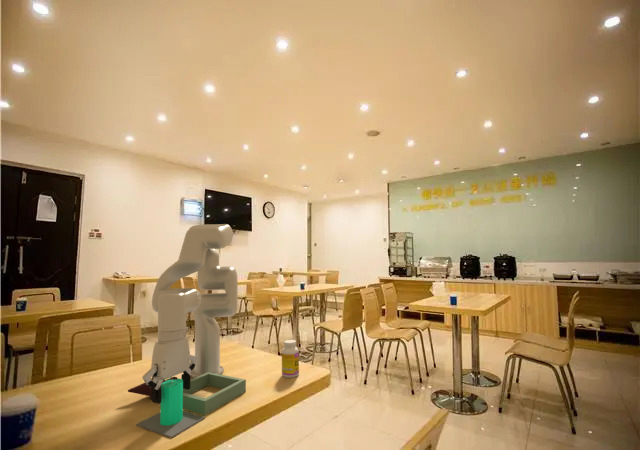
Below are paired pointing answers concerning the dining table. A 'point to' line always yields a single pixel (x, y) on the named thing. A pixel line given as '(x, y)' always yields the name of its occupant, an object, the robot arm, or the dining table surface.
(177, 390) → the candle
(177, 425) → the rubber mat
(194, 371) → the robot arm
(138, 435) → the dining table surface
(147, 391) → the icecream
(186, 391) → the box
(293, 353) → the supplement bottle
